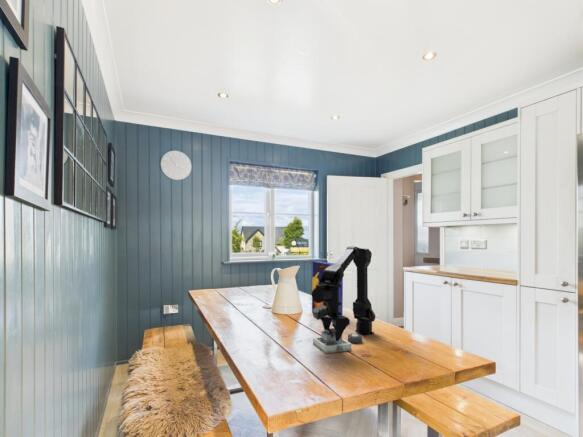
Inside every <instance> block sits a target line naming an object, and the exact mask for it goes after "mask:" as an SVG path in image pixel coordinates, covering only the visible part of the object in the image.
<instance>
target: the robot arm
mask: <svg viewBox="0 0 583 437" xmlns="http://www.w3.org/2000/svg"><path fill="white" fill-rule="evenodd" d="M372 255H373V254H372V251H371V250H370V249H369V248H360V247H358V246H347V247H346V249H345V251H344V252H343V253H342V255H340V257H339V258H338V260H336V262H334V263H335V264H333V265H331V266H329V267H327V268H326V269H325V270H324V272H323V274H322V277H321V279H320V281H319V283H318V285H316V288H315V289H314V290H313V292H312V291H311V300H312V299H313V300H314V301H315V302H316V303H321V302H323V305H322V306H319V307H317V308H315V309H313V310H312V309H311V314H312V315H313V319H316V320H320V321H321V323H322V327H323V330H324V331H325V329H331V326H332V327H333V328H335V338H336V341H339V339H340V337H341V335H342V336H343V334H344V331H345V330H346V328H347V327H349V326H350V322H351V320H350V319H349V317H347V316H346V315H342V316H338V315H341V312H339V305H341V302H339V288H341V287H342V285H341V284H340V282H341V280H342V278H344V277H345V273H344V272H345V270H346V269H347V268H348V266H349V265H350V264H351V263H352V261H353V263H354V265H355V267H356V299H355V300H354V301H353V302H352V312H353V314H352V315H353V317H354V319H356V326H355V327H356V329H355V330H354V331H355V332H356V333H357V334H359V335H361V336H365V335H374V334H375V332H374V331H373V322H375V321H376V314H375V312H374V310H373V309H372V303H371V302H370V300H369V293H368V292H369V291H368V290H369V287H368V283H369V282H368V279H369V278H368V277H369V276H368V268H369V265H370V264H371V261H372V257H373V256H372ZM325 281H326V282H325Z"/></svg>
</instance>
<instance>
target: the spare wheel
mask: <svg viewBox="0 0 583 437" xmlns="http://www.w3.org/2000/svg"><path fill="white" fill-rule="evenodd" d="M347 341H348V342H349V343H351V344H354V345H355V344H356V345H358V344H362V343H363V335H362V334H360V333H348V335H347Z"/></svg>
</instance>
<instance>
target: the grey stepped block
mask: <svg viewBox="0 0 583 437" xmlns="http://www.w3.org/2000/svg"><path fill="white" fill-rule="evenodd" d="M320 337H321V342H322V343H323V344H324V345H326V346H331V345H339V344H342V338H343V334H342V335H341V337H340V339H339V341H336V338H335V328H334V327H333V328H331V327H330V329H325V331H323V330H322V331H321V336H320Z"/></svg>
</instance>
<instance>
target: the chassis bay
mask: <svg viewBox="0 0 583 437" xmlns="http://www.w3.org/2000/svg"><path fill="white" fill-rule="evenodd" d="M312 344H313V346H314V347H316V348H318V349H319V350H320V351H322V352H323V353H324V354H331V353H332V354H333V353H342V352H348V351H352V343H350V342H348V340H346V339H344V338H343V337H342V344H339V345H331V346H326V345H324V344H323V343H322V342H321V336H317V337H313V338H312Z"/></svg>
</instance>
